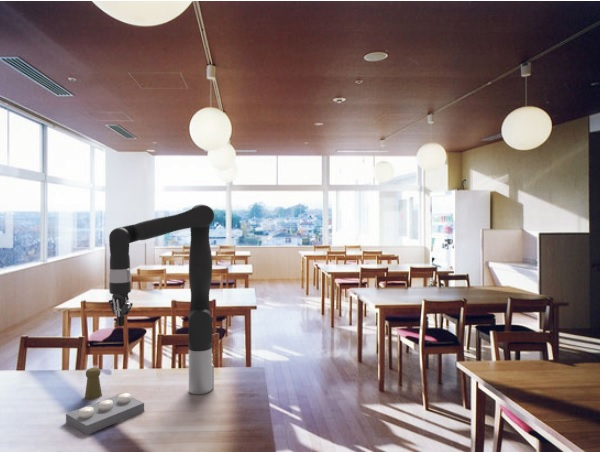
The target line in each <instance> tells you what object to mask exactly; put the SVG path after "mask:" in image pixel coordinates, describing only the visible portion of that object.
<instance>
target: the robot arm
mask: <svg viewBox="0 0 600 452" xmlns="http://www.w3.org/2000/svg"><path fill="white" fill-rule="evenodd" d="M214 219H215V212H214V210H213V208H212V207H210V206H209V205H207V204H205V203H203V204H201V203H200V204H196V205H194V206H192V208H190V209H188V210H186V211H183V212H180V213H177V214H173V215H168V216H163V217H162V216H161V217H156V218H152V219H147V220H143V221H141V222H137V223H134V224H129V225H125V226H120V227H116V228H114V229H112V231H111V232H110V234H109V235H108V242H109V243H108V244H109V254H110V256H109V274H108V275H109V276H108V277H109V280H108V281H109V284H108V285H109V286H108V287H109V294H111V295H112V296H111V299H108V304H109V307H110V309H111V311H112V313H113V315H115V316H116V326H117V327H121V328H122V327H124V326H125V316H128V315H129V313H130V311H131V309H132V307H133V305H134V304H133V302H130V301H129V293H131V291H132V273H131V258H130V244H132V243H134V242H138V241H147V240H151V239H154V238H157V237H161V236H164V235H168V234H171V233H174V232H178V231H182V230H187V229H190V246H189V255H188V256H189V259H188V281H189V282H188V283H189V289H190V305H189V312H188V321H187V323H188V325H187V326H188V327H187V328H188V340H187V341H188V345H187V346H188V392H189V394H193V395H204V394H208V393H210V392H211V391H212V390H213V389H214V388H215V365H214V364H213V317H212V313H211V306H210V291H211V284H212V279H213V277H212V276H213V258H212V257H213V255H212V250H211V243H210V227H211V224H212V223H213V221H214Z"/></svg>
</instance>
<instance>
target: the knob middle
mask: <svg viewBox="0 0 600 452" xmlns="http://www.w3.org/2000/svg"><path fill="white" fill-rule="evenodd" d="M103 400H104V401H102V400H100V401H101V402H100V401H99V402H100V403H99V410H100V411H107V410H110V409H112V408H113V401H112V400H105V399H103Z"/></svg>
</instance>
